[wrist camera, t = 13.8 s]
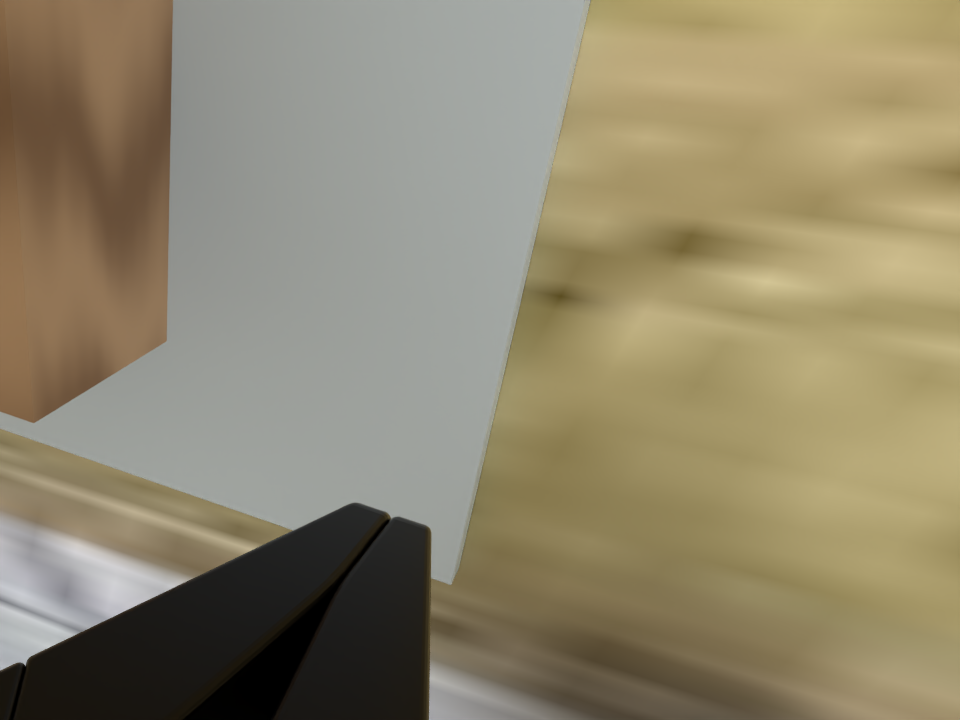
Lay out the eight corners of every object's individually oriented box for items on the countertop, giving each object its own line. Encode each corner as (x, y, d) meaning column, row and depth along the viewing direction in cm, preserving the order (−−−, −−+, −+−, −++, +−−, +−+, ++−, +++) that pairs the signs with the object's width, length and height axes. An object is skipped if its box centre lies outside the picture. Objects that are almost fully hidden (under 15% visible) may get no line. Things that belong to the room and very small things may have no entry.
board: (458, 568, 24) (451, 585, 23) (-44, 395, 27) (-64, 406, 26) (674, -362, 14) (672, -380, 14) (-154, -482, 17) (-191, -503, 16)
